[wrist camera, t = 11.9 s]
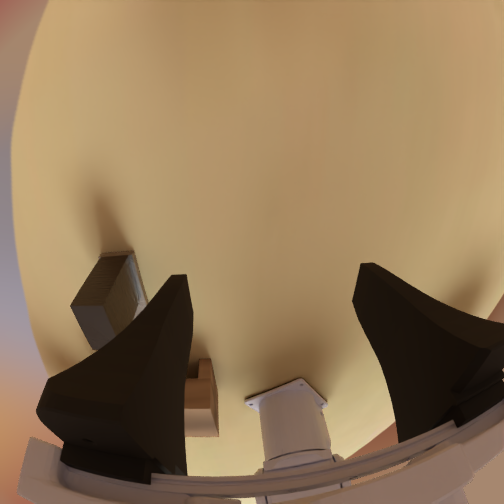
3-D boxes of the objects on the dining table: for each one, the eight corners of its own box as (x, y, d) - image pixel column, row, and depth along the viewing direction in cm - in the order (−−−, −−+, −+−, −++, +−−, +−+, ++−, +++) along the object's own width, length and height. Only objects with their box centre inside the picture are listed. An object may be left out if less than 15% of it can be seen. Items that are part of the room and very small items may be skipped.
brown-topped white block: (101, 252, 20) (67, 305, 14) (134, 249, 20) (106, 305, 15) (147, 369, 28) (137, 421, 22) (172, 369, 28) (166, 423, 22)
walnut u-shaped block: (105, 356, 26) (91, 400, 21) (211, 358, 27) (210, 408, 22) (128, 396, 30) (121, 434, 25) (219, 398, 31) (220, 440, 26)
